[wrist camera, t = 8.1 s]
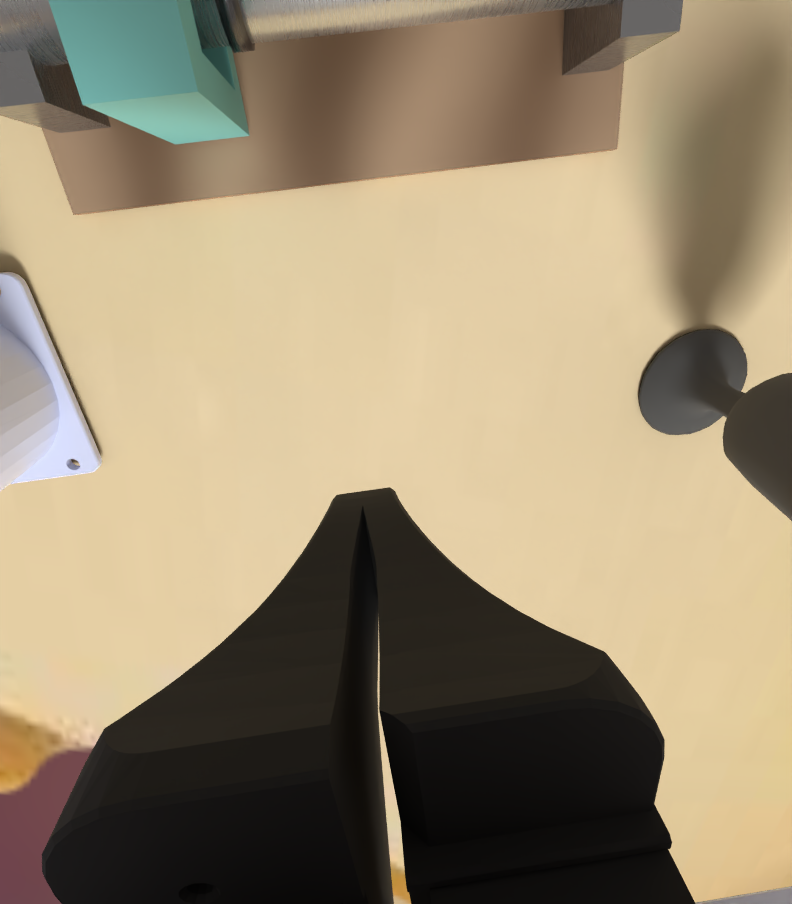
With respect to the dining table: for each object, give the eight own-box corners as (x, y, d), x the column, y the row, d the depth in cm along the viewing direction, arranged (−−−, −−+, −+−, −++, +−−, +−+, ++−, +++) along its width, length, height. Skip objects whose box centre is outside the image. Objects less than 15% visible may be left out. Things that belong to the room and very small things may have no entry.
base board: (79, 214, 17) (73, 214, 17) (-57, -161, 13) (-68, -172, 13) (611, 150, 18) (617, 149, 17) (639, -225, 14) (647, -237, 13)
